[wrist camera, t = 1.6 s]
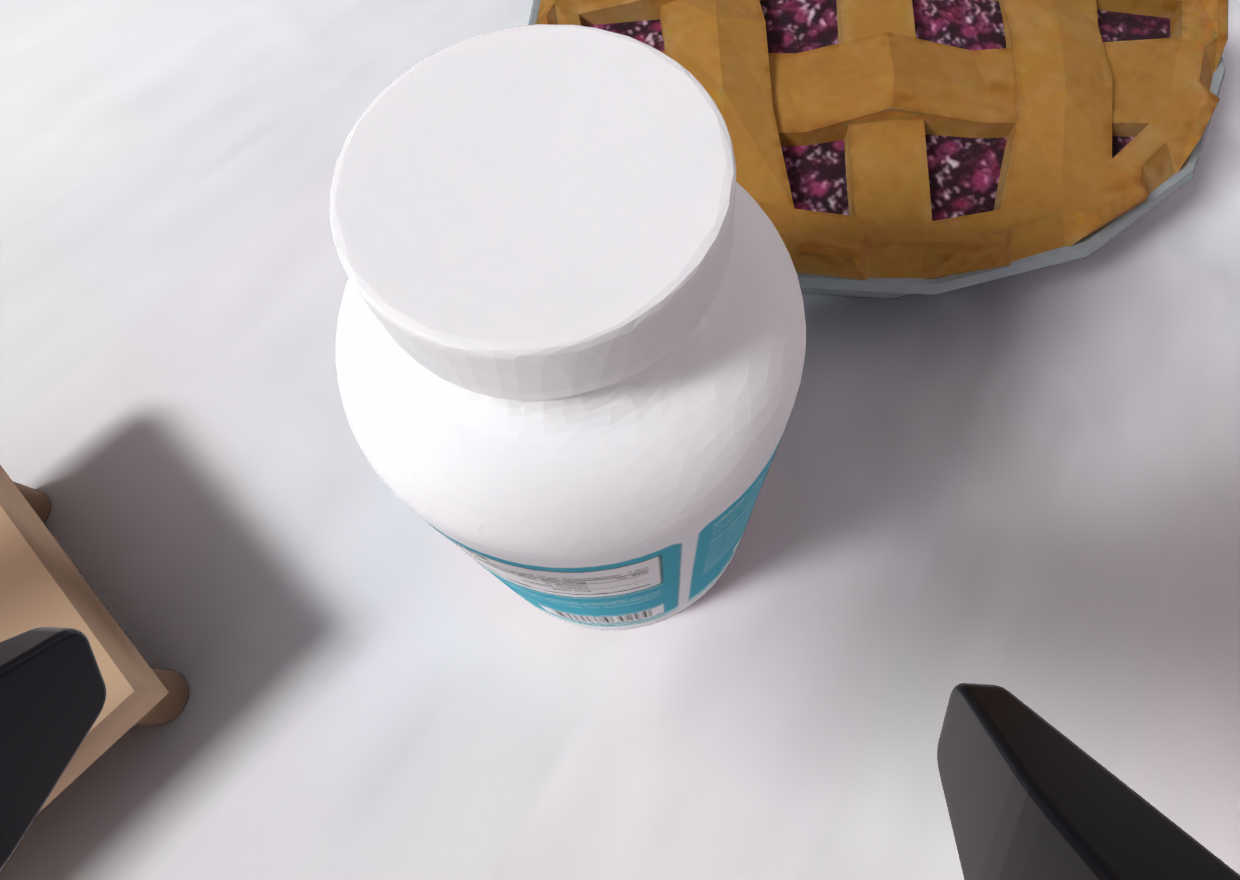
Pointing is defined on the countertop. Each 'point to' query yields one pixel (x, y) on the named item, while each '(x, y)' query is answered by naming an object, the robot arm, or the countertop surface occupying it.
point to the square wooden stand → (75, 626)
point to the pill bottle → (564, 318)
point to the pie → (942, 123)
